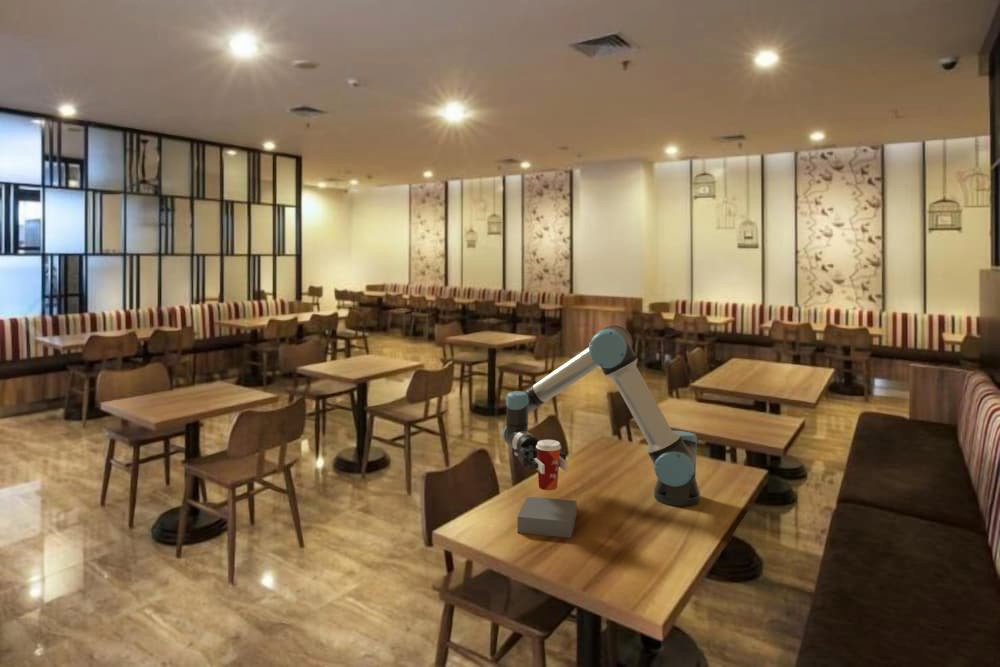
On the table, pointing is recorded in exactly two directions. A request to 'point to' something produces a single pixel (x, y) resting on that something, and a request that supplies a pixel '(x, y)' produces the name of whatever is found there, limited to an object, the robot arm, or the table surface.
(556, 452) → the paper cup
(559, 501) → the base block
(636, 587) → the table surface
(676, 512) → the table surface
